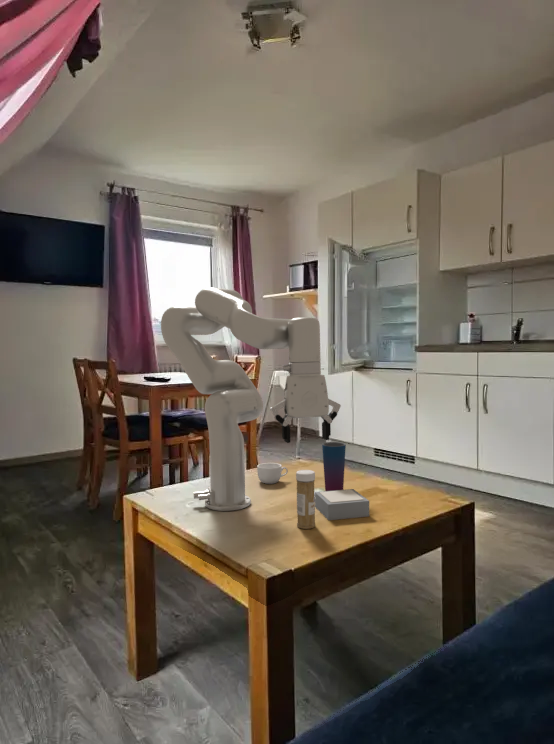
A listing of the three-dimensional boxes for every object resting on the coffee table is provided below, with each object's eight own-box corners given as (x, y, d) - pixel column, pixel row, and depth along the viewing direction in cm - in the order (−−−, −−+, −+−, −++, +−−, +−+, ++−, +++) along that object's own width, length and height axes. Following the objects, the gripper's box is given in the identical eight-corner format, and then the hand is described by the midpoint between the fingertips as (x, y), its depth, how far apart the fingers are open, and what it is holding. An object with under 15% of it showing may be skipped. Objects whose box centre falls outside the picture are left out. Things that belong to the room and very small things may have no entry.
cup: (347, 498, 146) (347, 446, 145) (323, 498, 146) (322, 446, 145) (344, 491, 153) (344, 441, 152) (321, 491, 153) (321, 441, 152)
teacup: (260, 486, 159) (260, 469, 159) (254, 480, 167) (254, 463, 167) (291, 483, 162) (291, 466, 162) (284, 477, 170) (284, 461, 169)
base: (328, 520, 128) (328, 503, 128) (315, 506, 139) (314, 491, 139) (369, 516, 131) (369, 500, 131) (353, 503, 142) (353, 488, 141)
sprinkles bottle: (317, 528, 123) (317, 473, 122) (299, 530, 122) (298, 474, 121) (312, 522, 127) (311, 468, 126) (294, 523, 126) (293, 469, 125)
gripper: (273, 371, 117) (275, 446, 118) (344, 368, 121) (346, 440, 122) (266, 370, 124) (268, 440, 125) (333, 367, 128) (335, 435, 129)
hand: (306, 440), depth 124 cm, fingers open, 9 cm apart
